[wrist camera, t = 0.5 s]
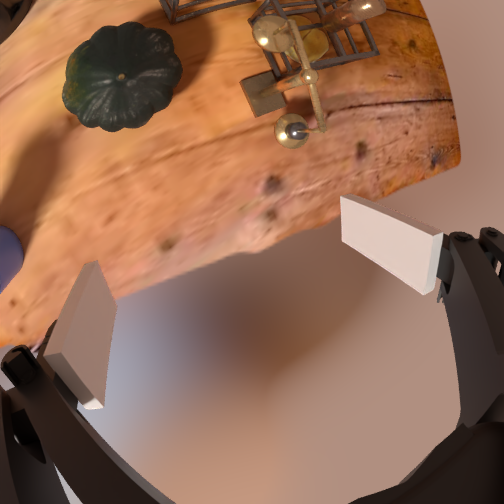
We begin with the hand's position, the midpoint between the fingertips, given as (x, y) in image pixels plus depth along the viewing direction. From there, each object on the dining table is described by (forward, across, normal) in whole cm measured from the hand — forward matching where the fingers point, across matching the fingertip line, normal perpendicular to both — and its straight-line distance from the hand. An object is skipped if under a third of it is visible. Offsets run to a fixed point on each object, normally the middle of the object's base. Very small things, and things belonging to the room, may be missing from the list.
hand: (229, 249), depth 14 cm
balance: (+28, +13, +10) cm, 33 cm away
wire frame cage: (+28, +21, +20) cm, 40 cm away
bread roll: (+28, +21, +20) cm, 41 cm away
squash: (+28, -6, +16) cm, 33 cm away
